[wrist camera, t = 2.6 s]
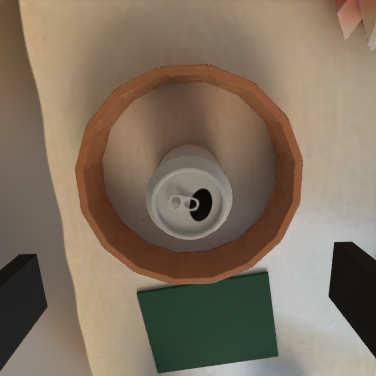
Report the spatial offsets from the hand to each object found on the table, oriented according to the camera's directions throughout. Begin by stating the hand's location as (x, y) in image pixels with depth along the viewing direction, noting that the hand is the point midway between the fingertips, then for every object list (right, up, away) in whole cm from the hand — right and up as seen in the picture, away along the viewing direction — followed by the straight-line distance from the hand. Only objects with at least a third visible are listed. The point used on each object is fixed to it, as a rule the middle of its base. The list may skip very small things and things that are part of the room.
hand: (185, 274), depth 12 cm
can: (0, +6, +21) cm, 22 cm away
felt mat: (+3, -16, +27) cm, 31 cm away
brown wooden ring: (0, +6, +21) cm, 22 cm away
